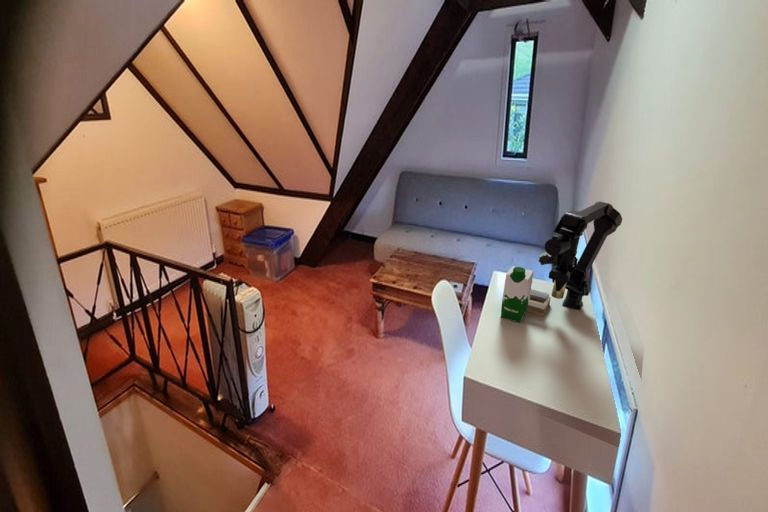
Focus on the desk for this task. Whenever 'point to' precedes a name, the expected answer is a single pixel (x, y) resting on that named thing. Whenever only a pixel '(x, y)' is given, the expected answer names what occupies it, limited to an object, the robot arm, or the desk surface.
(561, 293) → the peg
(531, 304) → the socket block
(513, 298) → the milk carton
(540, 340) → the desk surface
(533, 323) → the desk surface
